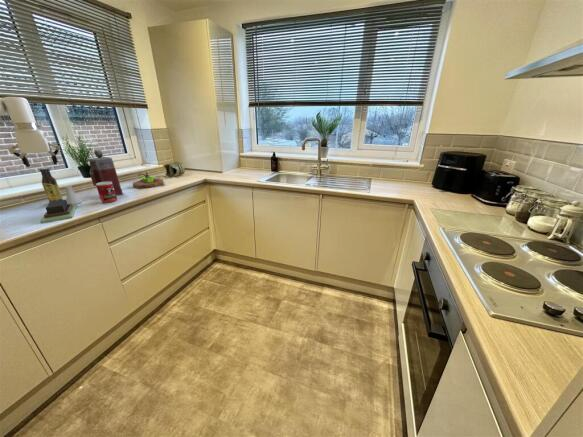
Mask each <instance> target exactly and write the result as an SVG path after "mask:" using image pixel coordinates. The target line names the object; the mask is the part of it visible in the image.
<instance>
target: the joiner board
mask: <svg viewBox="0 0 583 437" xmlns="http://www.w3.org/2000/svg"><path fill="white" fill-rule="evenodd" d="M68 206H69V208H68V210H67V211H66V212H60V213H54V214H48V213H47V211H46V212H45V213H44V215H43V217H42V218H41V219H40V223H41V224H45V223H51V222H57V221H62V220H69V219H73V217H74V215H75V212H76V211H77V207H78V205H77V204H68Z"/></svg>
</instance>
